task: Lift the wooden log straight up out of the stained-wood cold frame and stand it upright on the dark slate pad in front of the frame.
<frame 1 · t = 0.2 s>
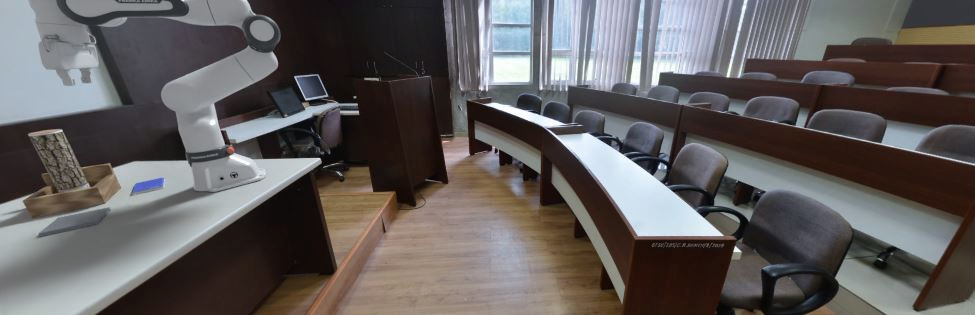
hand: (79, 84, 98), 39 cm above the table, tool pointing down, fingers open, 8 cm apart
cold frame: (80, 201, 112), on the table
slate pad: (78, 222, 98), on the table
wooden log: (81, 202, 112), resting in cold frame
hard drive: (150, 188, 123), on the table
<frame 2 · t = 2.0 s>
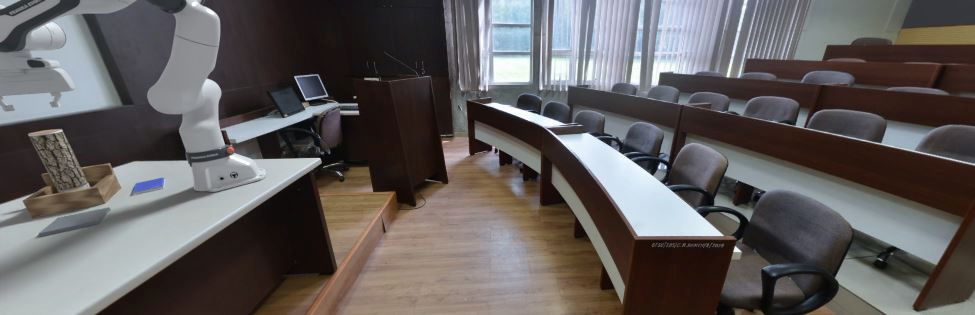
hand: (33, 109, 101), 32 cm above the table, tool pointing down, fingers open, 8 cm apart
nothing on the table moved.
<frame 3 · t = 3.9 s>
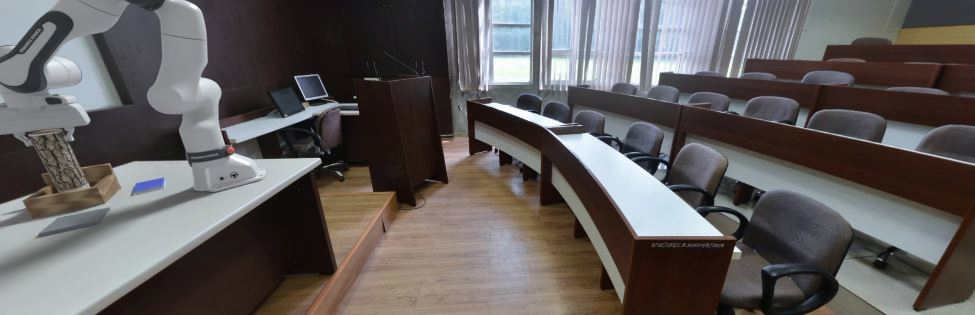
hand: (51, 143, 105), 21 cm above the table, tool pointing down, fingers closed on wooden log, 7 cm apart
wooden log: (81, 202, 112), resting in cold frame, touching gripper
everything else where it was.
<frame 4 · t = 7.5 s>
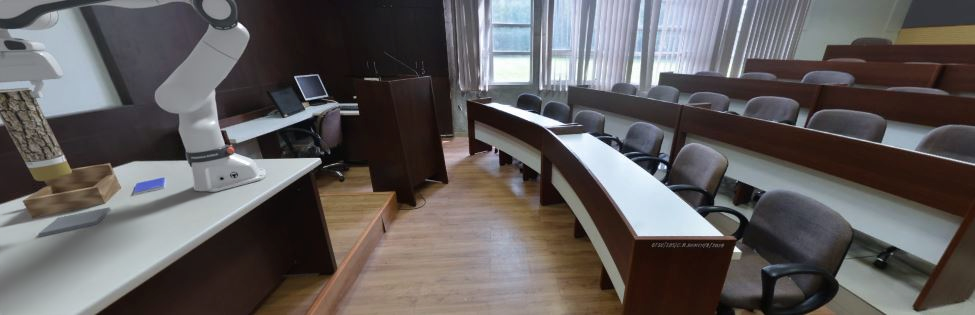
hand: (14, 99, 86), 37 cm above the table, tool pointing down, fingers closed on wooden log, 7 cm apart
wooden log: (55, 177, 93), point 15 cm above the table, touching gripper
everything else where it was.
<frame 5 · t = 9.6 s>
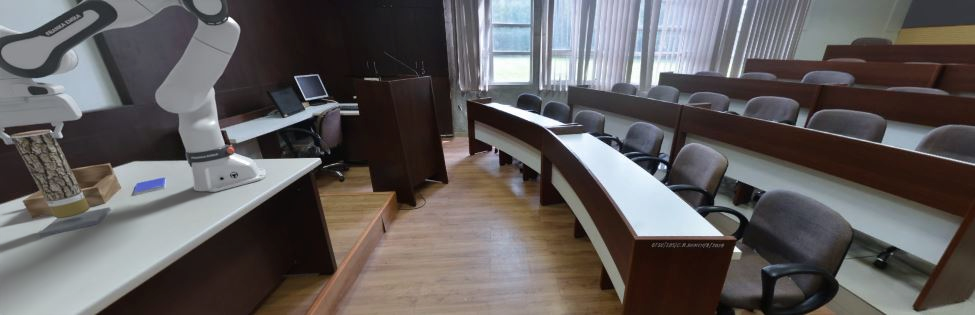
hand: (35, 140, 89), 26 cm above the table, tool pointing down, fingers closed on wooden log, 7 cm apart
wooden log: (73, 214, 97), point 3 cm above the table, touching gripper
everything else where it was.
when the fingers open (24 cm above the table, at t = 11.2 s): wooden log stays where it is, resting on slate pad.
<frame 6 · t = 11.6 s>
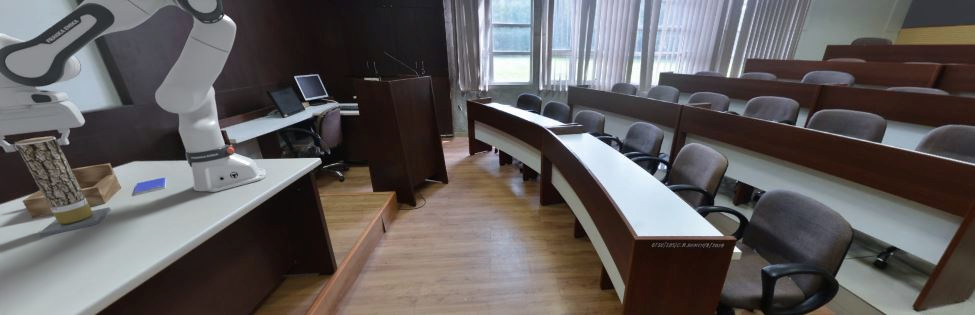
hand: (39, 148, 90), 24 cm above the table, tool pointing down, fingers open, 8 cm apart
wooden log: (77, 219, 98), point 1 cm above the table, touching slate pad
everything else where it was.
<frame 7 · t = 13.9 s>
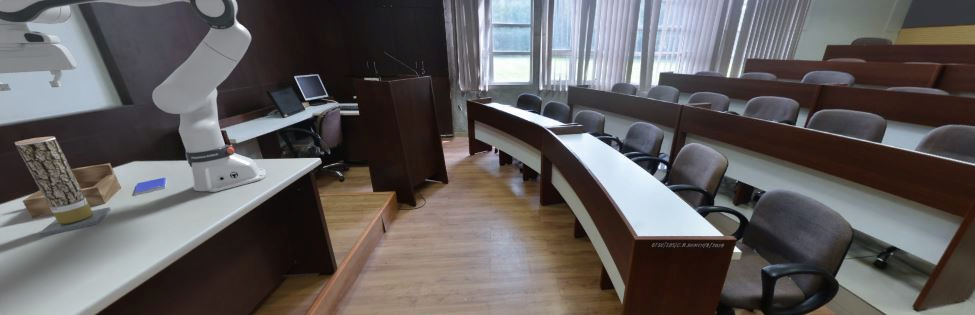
hand: (31, 88, 92), 39 cm above the table, tool pointing down, fingers open, 8 cm apart
nothing on the table moved.
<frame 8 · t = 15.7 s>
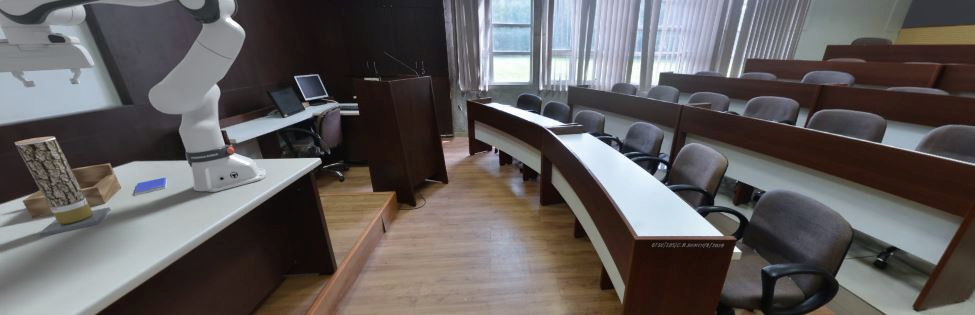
hand: (54, 85, 101), 39 cm above the table, tool pointing down, fingers open, 8 cm apart
nothing on the table moved.
at the end: wooden log inside the target area on the slate pad (0.1 cm from its centre), point 0.8 cm above the slate pad's base; wooden log tilted 0°; the gripper is holding nothing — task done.
